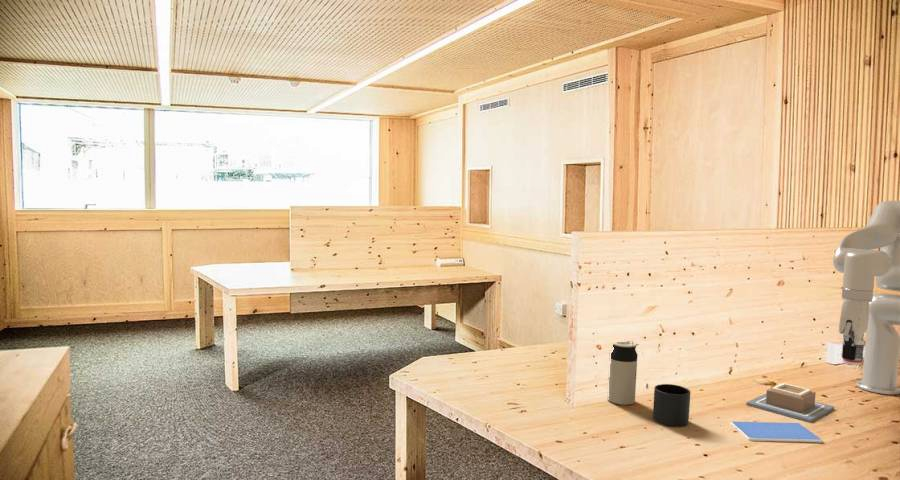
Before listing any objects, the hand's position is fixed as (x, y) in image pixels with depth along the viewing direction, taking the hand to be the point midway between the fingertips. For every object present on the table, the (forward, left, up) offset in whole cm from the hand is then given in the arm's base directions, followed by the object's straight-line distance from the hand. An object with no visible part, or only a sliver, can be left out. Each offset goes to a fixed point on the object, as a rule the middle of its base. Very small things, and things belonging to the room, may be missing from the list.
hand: (852, 356), depth 189 cm
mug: (+45, -30, -18) cm, 57 cm away
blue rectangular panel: (+31, -7, -18) cm, 37 cm away
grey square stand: (+6, -13, -17) cm, 23 cm away
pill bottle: (0, 0, -2) cm, 2 cm away
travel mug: (+43, -47, -18) cm, 67 cm away
